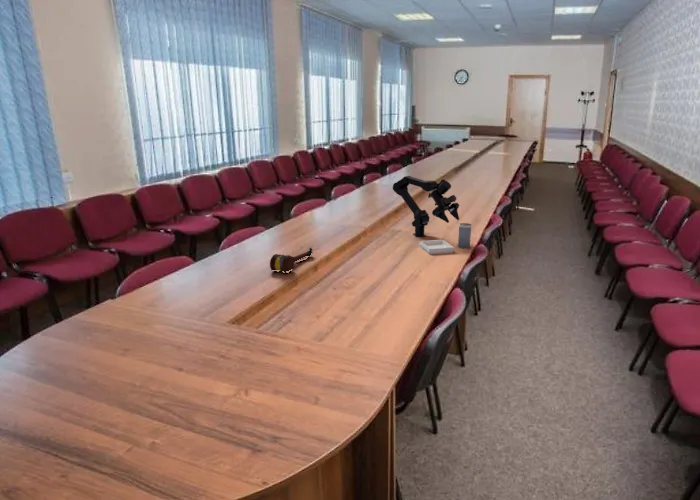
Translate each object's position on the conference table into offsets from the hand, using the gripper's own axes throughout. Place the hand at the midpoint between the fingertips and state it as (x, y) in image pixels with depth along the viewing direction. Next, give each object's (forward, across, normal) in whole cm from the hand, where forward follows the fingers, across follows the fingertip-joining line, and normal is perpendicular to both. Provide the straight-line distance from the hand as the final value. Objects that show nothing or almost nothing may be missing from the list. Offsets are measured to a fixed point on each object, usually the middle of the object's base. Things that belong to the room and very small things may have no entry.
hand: (453, 221), depth 273 cm
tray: (+10, -15, +9) cm, 20 cm away
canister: (+15, 0, +4) cm, 16 cm away
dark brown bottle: (-12, -90, +31) cm, 96 cm away
